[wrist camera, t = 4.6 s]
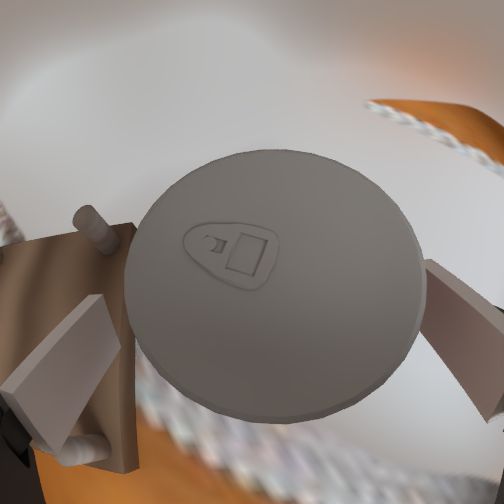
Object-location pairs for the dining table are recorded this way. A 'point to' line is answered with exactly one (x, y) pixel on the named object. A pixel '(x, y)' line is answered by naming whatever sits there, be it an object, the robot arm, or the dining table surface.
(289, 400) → the canned food
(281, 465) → the dining table surface
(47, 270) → the peg board
